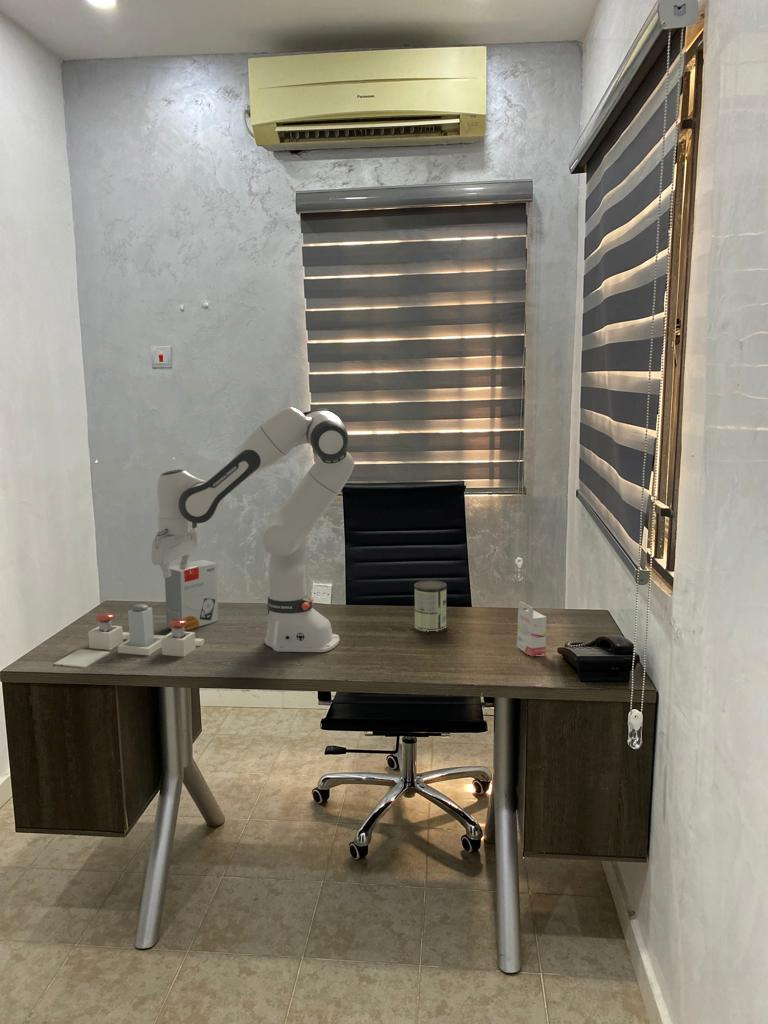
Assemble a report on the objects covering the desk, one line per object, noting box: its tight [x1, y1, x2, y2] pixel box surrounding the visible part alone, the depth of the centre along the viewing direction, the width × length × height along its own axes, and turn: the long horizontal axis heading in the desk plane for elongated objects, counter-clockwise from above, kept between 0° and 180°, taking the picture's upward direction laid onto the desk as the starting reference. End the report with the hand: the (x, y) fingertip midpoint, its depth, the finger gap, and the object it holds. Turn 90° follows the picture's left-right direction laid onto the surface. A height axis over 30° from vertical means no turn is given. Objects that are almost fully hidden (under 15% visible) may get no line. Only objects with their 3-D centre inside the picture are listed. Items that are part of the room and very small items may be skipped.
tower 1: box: [87, 625, 124, 651], centre depth 241 cm, size 7×7×5 cm
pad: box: [53, 648, 111, 669], centre depth 230 cm, size 10×12×1 cm
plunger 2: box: [169, 619, 187, 639], centre depth 235 cm, size 5×5×7 cm
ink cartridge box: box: [516, 600, 548, 656], centre depth 233 cm, size 9×5×15 cm, turn 21°
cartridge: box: [127, 603, 155, 647], centre depth 238 cm, size 5×5×13 cm
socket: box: [117, 631, 205, 656], centre depth 240 cm, size 32×13×2 cm, turn 76°
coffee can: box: [413, 579, 448, 633], centre depth 256 cm, size 10×10×14 cm
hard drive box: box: [164, 559, 219, 632], centre depth 259 cm, size 16×8×20 cm, turn 143°
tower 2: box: [161, 631, 197, 658], centre depth 235 cm, size 7×7×5 cm
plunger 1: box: [95, 612, 115, 632], centre depth 241 cm, size 5×5×7 cm
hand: (175, 573), depth 233 cm, fingers open, 8 cm apart
